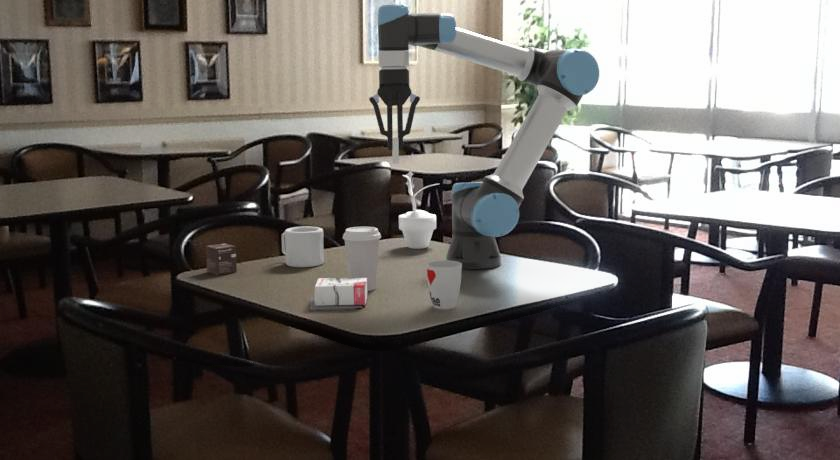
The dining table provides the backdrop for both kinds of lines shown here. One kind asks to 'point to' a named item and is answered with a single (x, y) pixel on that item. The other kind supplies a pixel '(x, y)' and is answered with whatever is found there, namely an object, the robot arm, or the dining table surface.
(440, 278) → the cup
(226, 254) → the box
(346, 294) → the ink box
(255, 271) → the dining table surface
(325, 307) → the mat
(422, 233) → the potted plant
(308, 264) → the mug
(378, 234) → the coffee cup
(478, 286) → the dining table surface
